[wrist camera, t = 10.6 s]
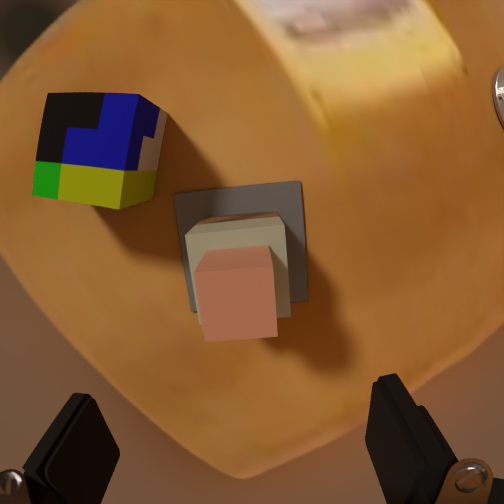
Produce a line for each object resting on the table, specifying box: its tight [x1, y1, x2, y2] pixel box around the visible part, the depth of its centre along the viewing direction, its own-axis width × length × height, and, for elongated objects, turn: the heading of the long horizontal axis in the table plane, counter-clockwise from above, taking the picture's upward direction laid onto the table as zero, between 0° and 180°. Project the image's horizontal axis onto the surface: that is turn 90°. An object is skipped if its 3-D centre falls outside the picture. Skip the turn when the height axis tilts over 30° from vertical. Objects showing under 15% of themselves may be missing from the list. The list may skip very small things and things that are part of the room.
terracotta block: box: [194, 245, 278, 342], centre depth 24 cm, size 5×5×6 cm
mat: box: [174, 181, 308, 312], centre depth 37 cm, size 14×14×1 cm
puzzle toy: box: [32, 92, 168, 209], centre depth 29 cm, size 10×10×10 cm
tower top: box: [185, 216, 291, 325], centre depth 29 cm, size 8×8×5 cm
